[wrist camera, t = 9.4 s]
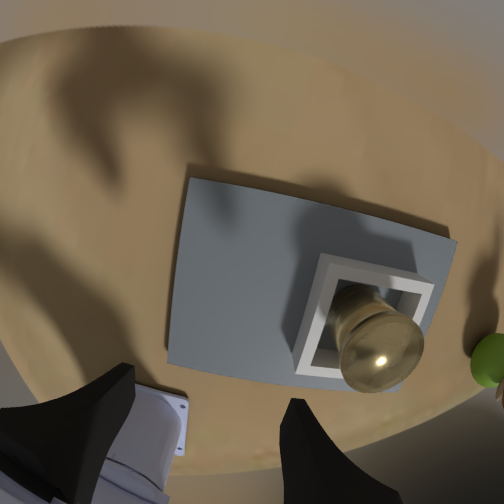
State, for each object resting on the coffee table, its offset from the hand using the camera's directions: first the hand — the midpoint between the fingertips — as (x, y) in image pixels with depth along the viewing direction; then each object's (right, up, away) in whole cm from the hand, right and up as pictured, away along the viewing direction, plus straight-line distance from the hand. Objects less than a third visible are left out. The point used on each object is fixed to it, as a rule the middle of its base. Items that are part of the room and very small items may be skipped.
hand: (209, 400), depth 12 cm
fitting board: (+6, +3, +9) cm, 11 cm away
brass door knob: (+9, +2, +8) cm, 12 cm away
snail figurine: (+26, -3, +10) cm, 28 cm away
